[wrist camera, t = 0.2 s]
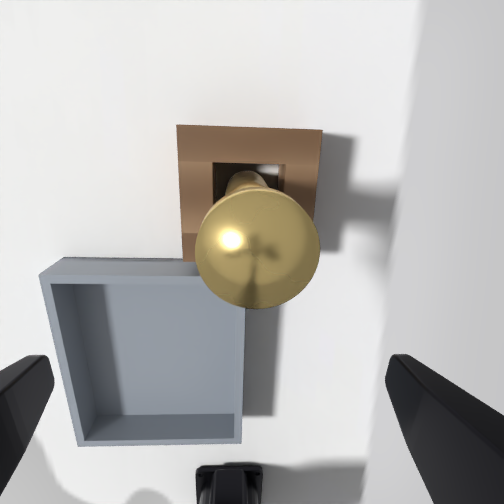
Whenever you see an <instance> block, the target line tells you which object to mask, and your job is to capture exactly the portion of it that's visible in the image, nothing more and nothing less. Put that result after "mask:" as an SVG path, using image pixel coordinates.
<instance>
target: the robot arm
mask: <svg viewBox="0 0 504 504" xmlns="http://www.w3.org/2000/svg"><path fill="white" fill-rule="evenodd" d="M385 383H386V388H387V391H388V394H389V397H390V399H391V402H392V405H393V408H394V411H395V413H396V416H397V419H398V422H399V425H400V428H401V431H402V433H403V436H404V439H405V441H406V444H407V446H408V449H409V451H410V453H411V455H412V458H413V460H414V462H415V464H416V466H417V468H418V470H419V473H420V475H421V477H422V479H423V481H424V483H425V486H426V488H427V490H428V492H429V494H430V496H431V499H432V501H433V503H434V504H504V415H502V414H500V413H499V412H497V411H496V410H494V409H492V408H491V407H490V406H488V405H486V404H485V403H483V402H482V401H480V400H479V399H477V398H475V397H474V396H472V395H470V394H469V393H467V392H466V391H465V390H463V389H461V388H460V387H458V386H457V385H455V384H454V383H452V382H450V381H449V380H447V379H446V378H444V377H443V376H441V375H440V374H438V373H436V372H435V371H433V370H432V369H430V368H429V367H427V366H425V365H424V364H422V363H421V362H419V361H418V360H416V359H414V358H413V357H411V356H410V355H407V354H394V355H392V356H391V358H390V361H389V365H388V369H387V372H386V376H385ZM53 388H54V376H53V372H52V369H51V365H50V361H49V358H48V357H47V356H45V355H29V356H26V357H24V358H22V359H21V360H19V361H17V362H15V363H13V364H12V365H10V366H8V367H6V368H4V369H3V370H1V371H0V496H1V494H2V492H3V490H4V488H5V487H6V485H7V483H8V482H9V480H10V478H11V476H12V474H13V473H14V471H15V469H16V467H17V465H18V463H19V462H20V460H21V458H22V456H23V454H24V453H25V451H26V448H27V446H28V444H29V442H30V440H31V438H32V436H33V433H34V431H35V429H36V427H37V424H38V422H39V420H40V418H41V415H42V413H43V411H44V409H45V406H46V404H47V402H48V400H49V397H50V395H51V393H52V391H53ZM262 476H263V471H262V468H261V467H260V466H244V467H201V468H198V469H197V470H196V496H197V504H261V492H262Z"/></svg>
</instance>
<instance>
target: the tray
mask: <svg viewBox="0 0 504 504" xmlns="http://www.w3.org/2000/svg"><path fill="white" fill-rule="evenodd" d="M39 279H40V284H41V288H42V292H43V297H44V301H45V306H46V310H47V314H48V319H49V323H50V327H51V332H52V336H53V340H54V345H55V349H56V353H57V358H58V362H59V367H60V371H61V375H62V380H63V384H64V388H65V393H66V397H67V401H68V406H69V410H70V414H71V419H72V423H73V428H74V432H75V436H76V441H77V445H78V447H85V446H138V445H191V444H241V442H242V407H243V371H244V336H245V308H242V307H238V306H235V305H232V304H230V303H228V302H226V301H224V300H222V299H221V298H219V297H218V296H217V295H215V294H214V293H213V292H212V291H211V290H210V289H209V288H208V287H207V285H206V284H205V283H204V281H203V279H202V278H201V276H200V274H199V271H198V269H197V265H196V262H183V259H161V258H85V257H63V258H62V259H60V260H59V261H57V262H56V263H55V264H53V265H52V266H50V267H49V268H47V269H46V270H45V271H43V272H42V273H40V274H39Z"/></svg>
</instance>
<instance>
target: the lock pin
mask: <svg viewBox="0 0 504 504" xmlns="http://www.w3.org/2000/svg"><path fill="white" fill-rule="evenodd" d="M319 257H320V241H319V236H318V232H317V230H316V227H315V225H314V223H313V221H312V220H311V218H310V217H309V215H308V214H307V213H306V212H305V210H304V209H303V208H302V207H301V206H300V205H299V204H298V203H297V202H296V201H295V200H294V199H292V198H291V197H290V196H288V195H286V194H285V193H283V192H281V191H278V190H275V189H272V188H269V187H268V186H267V184H266V182H265V181H264V179H263V178H262V177H261V176H260V175H259V174H257V173H256V172H253V171H248V170H247V171H241V172H238V173H236V174H235V175H233V176H232V177H231V179H230V180H229V182H228V184H227V188H226V193H225V196H224V197H222V198H221V199H220V200H218V201H217V202H216V203H215V204H214V205H213V206H212V207H211V208H210V210H209V211H208V213H207V214H206V216H205V218H204V220H203V222H202V224H201V227H200V229H199V232H198V235H197V238H196V244H195V259H196V265H197V269H198V271H199V274H200V276H201V278H202V279H203V281H204V283H205V284H206V285H207V287H208V288H209V289H210V290H211V291H212V292H213V293H214V294H215V295H217V296H218V297H219V298H221V299H222V300H224V301H226V302H228V303H230V304H232V305H235V306H238V307H242V308H248V309H264V308H270V307H274V306H277V305H280V304H282V303H285V302H287V301H289V300H290V299H292V298H293V297H295V296H296V295H298V294H299V293H300V292H301V291H302V290H303V289H304V288H305V287H306V286H307V284H308V283H309V282H310V280H311V279H312V277H313V275H314V273H315V271H316V268H317V265H318V262H319Z"/></svg>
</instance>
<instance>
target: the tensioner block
mask: <svg viewBox="0 0 504 504" xmlns="http://www.w3.org/2000/svg"><path fill="white" fill-rule="evenodd" d="M176 128H177V148H178V168H179V189H180V209H181V229H182V249H183V262H196V259H195V244H196V238H197V235H198V232H199V229H200V227H201V224H202V222H203V220H204V218H205V216H206V214H207V213H208V211H209V210H210V208H211V207H212V206H213V205H214V204H215V203H216V162H222V163H256V164H279V175H278V191H281V192H283V193H285V194H286V195H288V196H290V197H291V198H292V199H294V200H295V201H296V202H297V203H298V204H299V205H300V206H301V207H302V208H303V209H304V210H305V212H306V213H307V214H308V215H309V217H310V218H311V220H312V221H313V217H314V208H315V198H316V188H317V179H318V169H319V160H320V150H321V140H322V131H323V130H313V129H285V128H257V127H229V126H202V125H176Z"/></svg>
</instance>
